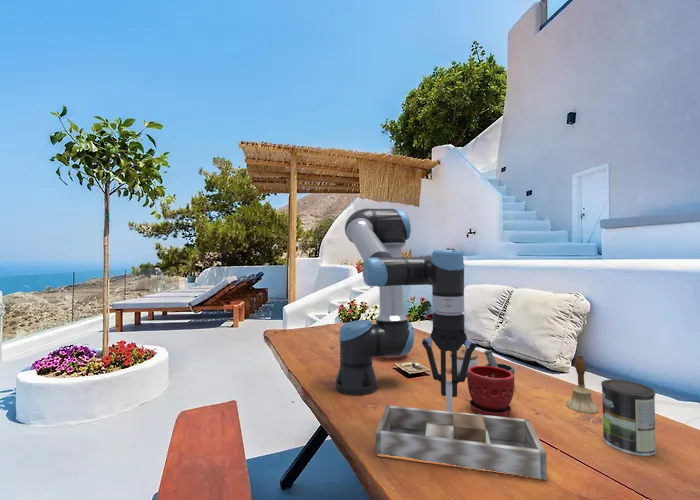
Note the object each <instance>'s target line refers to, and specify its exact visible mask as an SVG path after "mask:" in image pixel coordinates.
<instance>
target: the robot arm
mask: <svg viewBox="0 0 700 500" xmlns="http://www.w3.org/2000/svg"><path fill="white" fill-rule="evenodd" d="M411 233H412V225H411V219H410V216H409V215H408V213H407V212H406V211H405V210H403V209H400V208H399V209H398V208H397V209H396V208H362V209H359V210H356V211H355V212H353V213H352V214H350V216H349V217H348V219H346V221H345V224H344V234H345V235H346V238H347V239H348V241H349V242H350V243H352V244H353V245H354V246H355V248H356V250H357V251H358V253H359V255H360V257H361V258H362V261H363V263H362V279H363V282H364V284H366V286H368V287H378V289H379V315H378V316H377V317H376V318H375V323H372V321H371V320H369V319H363V320H362V319H359V320H353V321H348V322H346V323H343V324H342V325H341V327H340V329H339V337H338V339H339V369H338V371H337V374H336V375H337V376H336V378H335V382H334V383H335V384H334V385H335V390H336V391H337V392H338V393H340V394H343V395H349V396H364V395H369V394H373V393H375V392H376V391H377V390H378V384H379V383H378V379H377V375H376V373H375V370H374V369H375V368H374V367H373V358H378V357H379V358H380V357H384V356H399V355H404V354H405V355H407V354H409V353H410V352H411V351H412V349H413V347H414V342H415V331H414V326H413V325H412V323H411V322H409V321H408V317H407V316H406V315H405V314H404V294H403V293H404V291H403V286H426V285H427V286H431V288H432V289H431V291H432V295H431V296H432V297H431V298H432V300H431V302H432V303H431V305H432V307H431V308H432V311H433V313H432V330H431V333H430V335H429V336H427V337H426V338H423V339H422V340H421V341H422V342H421V345H422V346H423V348H424V349H425V351H426V355H427V359H428V362H429V367H430V370H431V373H432V374H431V375H432V378H433V380H434V381H439V383H440V394H441V397H445V411H448V412H454V411H453V397H454V398H456V397H458V384H459V383H465V381H466V378H467V375H466V374H467V370H468V366H469V362H470V358H471V354H472V352H475V350H476V348H477V344H476V343H477V342H475V340H471V339H469V338H468V336H467V333H466V331H465V328H466V327H465V314H464V312H465V262H464V253H463V251H462V250H461V249H435V250H433V251H432V253H431V256H417V257H416V256H414V257H403V256H402V255H403V254H402V249H403V247H405V246H406V241H407V240H409V239H410V237H411ZM433 343H434V344H435V346H436V347H437V348H438V349H439V350H440V373H439V371H438V367H437V363H436V359H435V355H434V351H433V348H432V346H433ZM464 344H465V345H464ZM463 345H464V346H465V350H466V351H465V355H464V359H463V363H462V367H461V371H460V375H459V374H457V351H458V350H461V348H462V346H463ZM447 352H451V356H452V366H451V380H450V379H448V380H447V355H446V354H447ZM405 355H404V356H405Z"/></svg>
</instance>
